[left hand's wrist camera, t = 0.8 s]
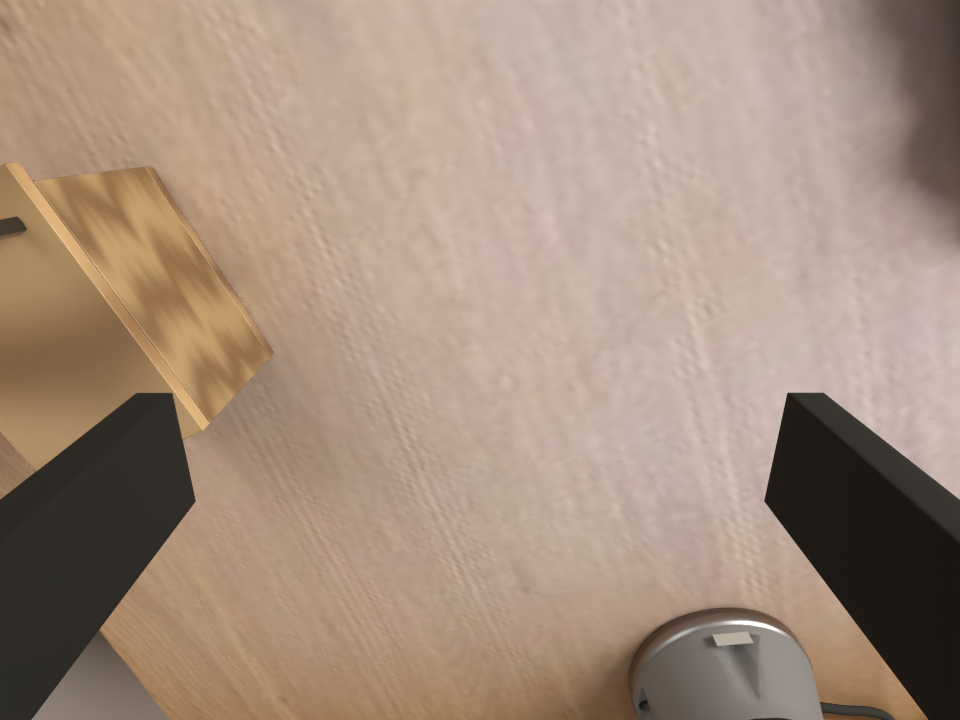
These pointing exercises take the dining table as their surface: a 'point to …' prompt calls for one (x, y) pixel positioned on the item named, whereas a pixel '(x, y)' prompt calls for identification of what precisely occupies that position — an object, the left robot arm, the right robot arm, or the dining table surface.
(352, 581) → the dining table surface
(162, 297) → the chest
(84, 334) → the lid
